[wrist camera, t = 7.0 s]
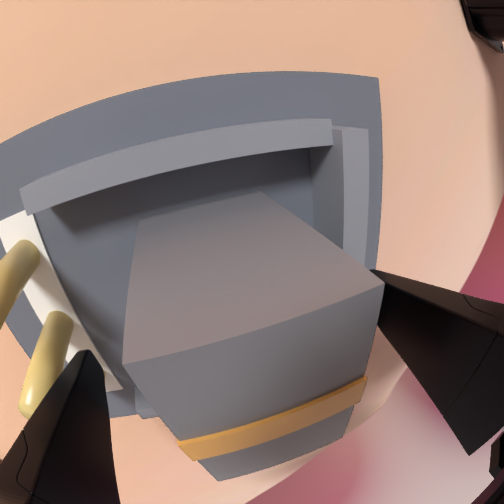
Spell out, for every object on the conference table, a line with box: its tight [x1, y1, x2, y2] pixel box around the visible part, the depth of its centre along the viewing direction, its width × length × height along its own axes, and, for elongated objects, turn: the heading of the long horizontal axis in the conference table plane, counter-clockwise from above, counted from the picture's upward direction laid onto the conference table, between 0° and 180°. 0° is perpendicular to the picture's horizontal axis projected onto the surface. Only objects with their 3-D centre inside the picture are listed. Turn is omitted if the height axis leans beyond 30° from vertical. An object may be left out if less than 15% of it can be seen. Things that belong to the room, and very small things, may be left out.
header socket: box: [0, 71, 383, 420], centre depth 8 cm, size 17×14×6 cm
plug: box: [122, 191, 385, 482], centre depth 8 cm, size 4×6×6 cm
